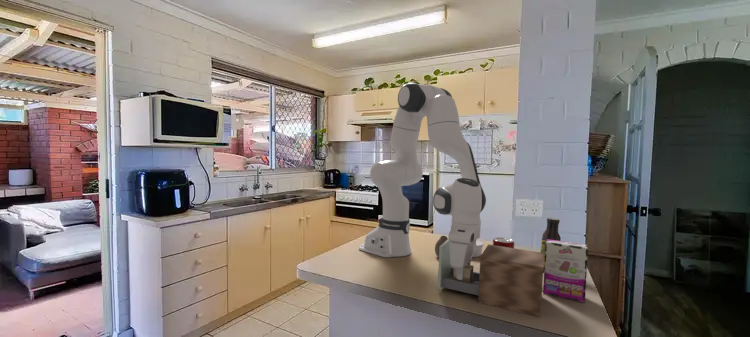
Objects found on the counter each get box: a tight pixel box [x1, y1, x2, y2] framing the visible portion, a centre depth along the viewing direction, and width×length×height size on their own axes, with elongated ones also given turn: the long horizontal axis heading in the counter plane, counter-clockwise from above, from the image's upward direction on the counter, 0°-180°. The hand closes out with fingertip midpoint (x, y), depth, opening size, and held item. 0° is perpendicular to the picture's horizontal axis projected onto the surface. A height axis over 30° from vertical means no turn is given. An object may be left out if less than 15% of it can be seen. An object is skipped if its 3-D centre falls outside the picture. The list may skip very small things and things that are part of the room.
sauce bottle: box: [539, 217, 562, 272], centre depth 119 cm, size 6×6×20 cm
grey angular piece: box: [437, 240, 480, 297], centre depth 101 cm, size 15×14×13 cm
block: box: [453, 264, 474, 283], centre depth 102 cm, size 5×5×5 cm
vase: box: [434, 235, 448, 259], centre depth 131 cm, size 7×7×9 cm
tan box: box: [477, 244, 544, 318], centre depth 95 cm, size 16×14×14 cm
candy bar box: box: [542, 239, 589, 303], centre depth 99 cm, size 11×5×16 cm, turn 58°
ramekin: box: [472, 239, 484, 258], centre depth 137 cm, size 11×11×5 cm
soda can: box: [492, 236, 515, 248], centre depth 117 cm, size 7×7×12 cm
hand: (463, 273), depth 102 cm, fingers open, 8 cm apart
